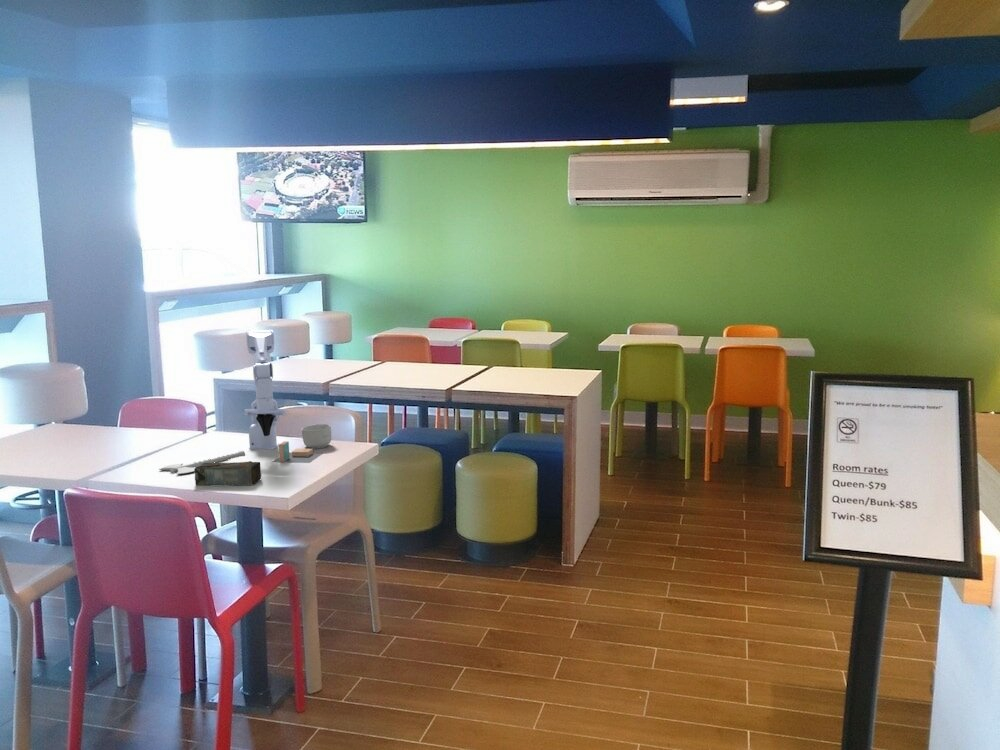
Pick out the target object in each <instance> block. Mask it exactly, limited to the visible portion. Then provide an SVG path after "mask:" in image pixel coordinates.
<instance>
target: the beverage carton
mask: <svg viewBox="0 0 1000 750" xmlns="http://www.w3.org/2000/svg"><path fill="white" fill-rule="evenodd" d="M261 467H262V466H261V462H260V461H251V460H249V461H241V462H216V463H203V464H201V465H198V467H196V468H195V469H194V482H195V486H197V487H198V486H199V487H200V486H202V487H203V486H206V487H207V486H208V487H209V486H211V485H223V486H224V485H229V486H254V485H255V484H257V483H258V482H260V481H261V480H262V471H261ZM260 479H261V480H260Z"/></svg>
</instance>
